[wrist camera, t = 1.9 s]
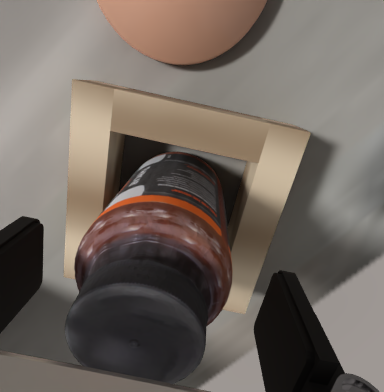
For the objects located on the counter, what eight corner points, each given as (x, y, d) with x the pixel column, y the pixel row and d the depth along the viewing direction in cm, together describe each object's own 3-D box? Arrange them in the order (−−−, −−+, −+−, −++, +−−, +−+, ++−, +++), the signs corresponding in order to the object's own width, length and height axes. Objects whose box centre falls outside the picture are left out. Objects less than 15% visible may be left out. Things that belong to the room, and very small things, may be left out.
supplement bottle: (128, 148, 17) (2, 244, 7) (225, 150, 17) (254, 253, 6) (134, 233, 19) (47, 407, 9) (220, 236, 19) (236, 419, 9)
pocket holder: (96, 80, 16) (72, 79, 13) (293, 124, 16) (310, 132, 13) (83, 250, 20) (63, 276, 17) (239, 283, 20) (244, 314, 18)
